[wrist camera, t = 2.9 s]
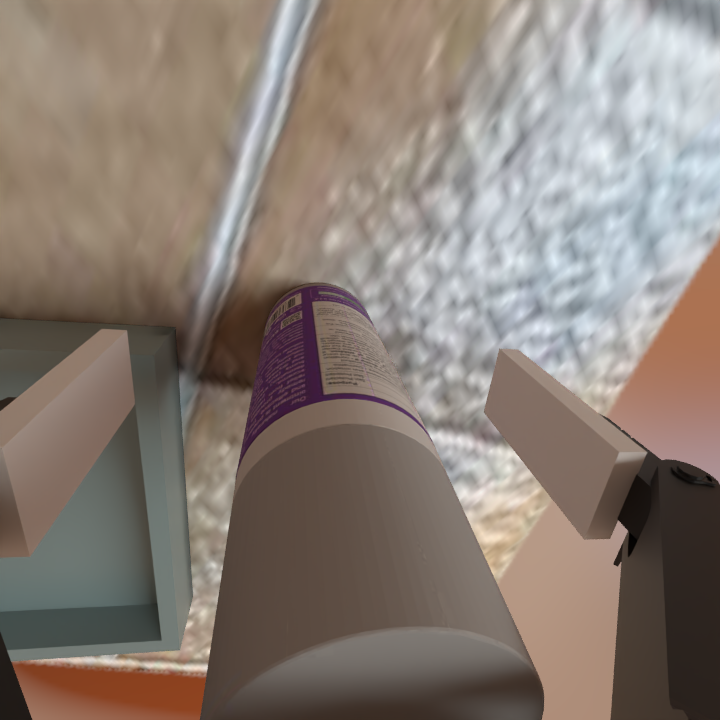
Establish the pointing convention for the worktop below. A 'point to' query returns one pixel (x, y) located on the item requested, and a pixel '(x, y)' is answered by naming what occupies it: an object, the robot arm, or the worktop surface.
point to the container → (352, 547)
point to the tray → (105, 514)
